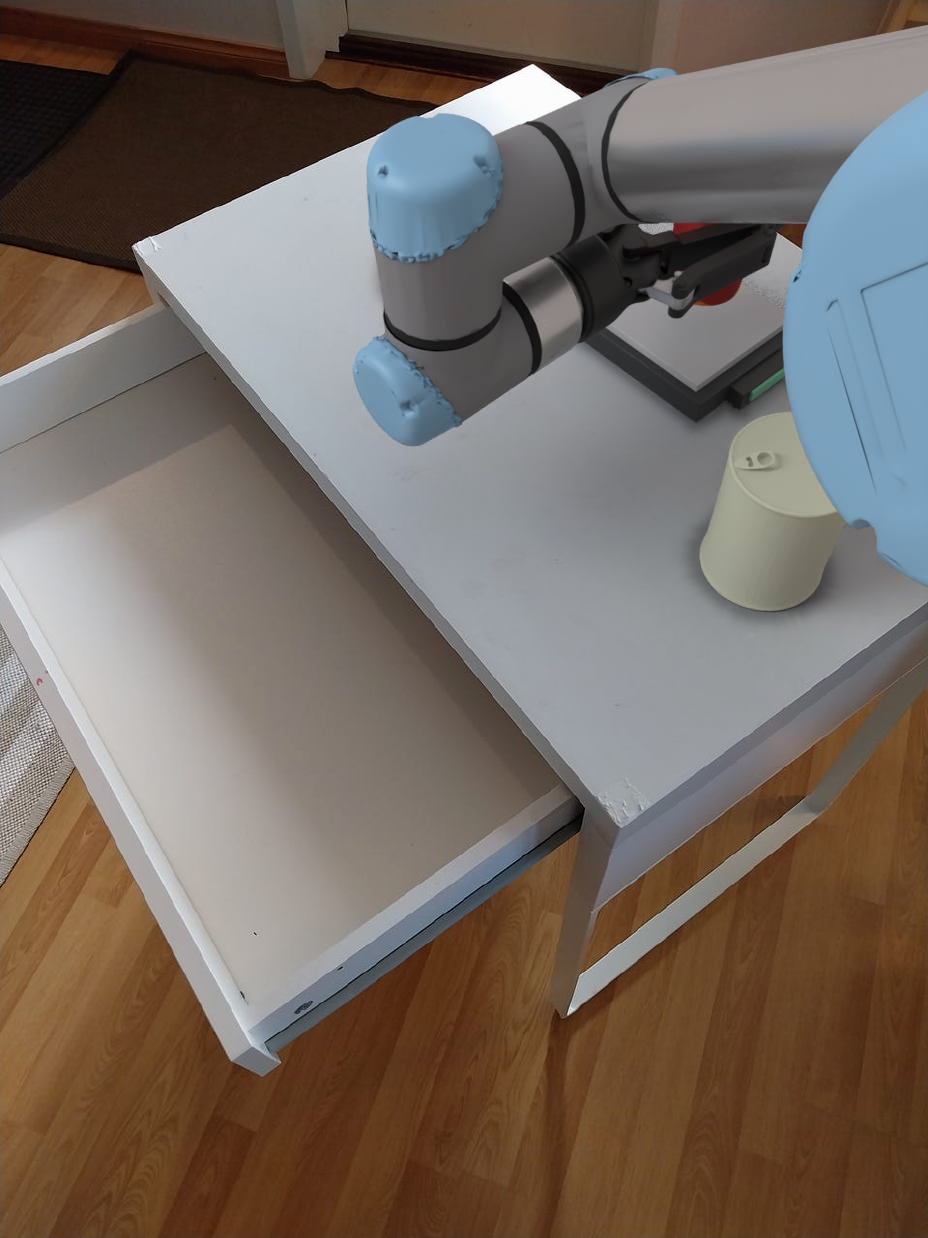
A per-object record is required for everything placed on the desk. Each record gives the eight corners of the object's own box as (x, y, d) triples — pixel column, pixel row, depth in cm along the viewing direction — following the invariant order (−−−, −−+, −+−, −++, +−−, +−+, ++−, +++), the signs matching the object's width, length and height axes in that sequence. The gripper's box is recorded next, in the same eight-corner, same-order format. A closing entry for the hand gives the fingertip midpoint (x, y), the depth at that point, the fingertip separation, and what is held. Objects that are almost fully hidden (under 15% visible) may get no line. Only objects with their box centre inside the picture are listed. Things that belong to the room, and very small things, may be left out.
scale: (818, 355, 83) (828, 328, 81) (711, 434, 79) (718, 409, 76) (686, 270, 90) (691, 243, 88) (581, 339, 86) (583, 313, 83)
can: (690, 516, 75) (719, 409, 64) (807, 511, 74) (854, 402, 64) (709, 614, 70) (743, 515, 60) (834, 609, 70) (889, 508, 59)
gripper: (463, 275, 74) (665, 155, 81) (646, 412, 66) (854, 265, 73) (458, 188, 68) (678, 66, 75) (661, 328, 59) (887, 175, 66)
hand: (765, 164), depth 74 cm, fingers closed on coffee cup, 7 cm apart
